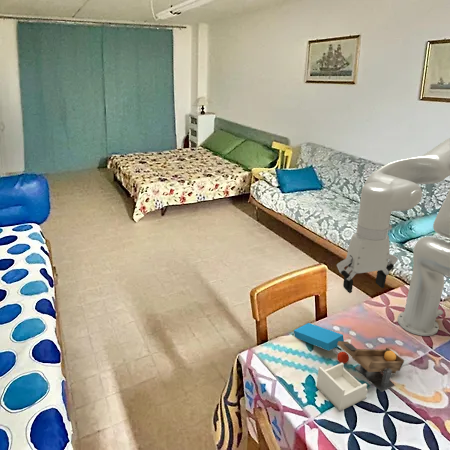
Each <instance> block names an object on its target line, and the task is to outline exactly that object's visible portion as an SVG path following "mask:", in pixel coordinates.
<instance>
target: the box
mask: <svg viewBox="0 0 450 450" xmlns="http://www.w3.org/2000/svg"><path fill="white" fill-rule="evenodd" d="M344 365H345V364H343V363H340V362H339V363H338V364H336V365H333V366H331V367H328V368H326V369H324V368H323V367H322V366H319V367H318V371H317V380H316V388H317V389H318V391H320V393H322V394H323V396H325V398H326V399H327V400H328V401H329V402H330V403H331V404H333V406H334V407H335V408H336V409H337V410H338V411H339V412H341V411H344V410H345V409H347V408H350V407H351V406H354V405H355V404H357V403H360V402H362V401H363V400H365V399H367V396H368V389H369V388H367V387H368V384H367V383H361V382H360V381H359V380H357V379H356V377H354V376H353V375H352V374H351V373H350V372H349V371H347V369H346V368H345V367H344Z"/></svg>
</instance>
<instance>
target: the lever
mask: <svg viewBox="0 0 450 450" xmlns="http://www.w3.org/2000/svg"><path fill="white" fill-rule="evenodd" d="M293 333H294V334H293V335H294V338H297V339H298V340H300V341H303V342H306V343H308V344H310V345H313V346H315V347H317V348H321V349H323V350H326V351H328V352H330V351H332V352H333V353H334V354H335V355H336V359H337V361H338V362H339V364H340V363H343V364H344V365H345V364H347V363H348V362H349V360H350V357H349V356H350V355H349V354H348V353H347V352H346V351H340V350H338V349H337V348H336V347H338V346H339V345H337V343H338V341H345V339H344V335H343V334H342V333H339V332H336V331H334V330H333V331H332V330H330V329H327V328H325V327H321V326H319V325H316V324H313V323H311V322H308V323H305V324H303V325H302V326H299V327H298V328H295V329H294V330H293Z"/></svg>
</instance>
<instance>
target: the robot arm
mask: <svg viewBox="0 0 450 450" xmlns="http://www.w3.org/2000/svg"><path fill="white" fill-rule="evenodd" d="M448 177H450V137H448V138H447V139H445V140H444V141H443V142H440V144H438V145H436V146H434V147H433V148H432V149H431V150H429V151H427V152H425V153H424V154H422V155H418V156H412V157H408V158H403V159H398V160H394V161H391V162H389V163H386V164H384V165H383V166H381V167H379V168H378V169H376V170H375V171H374V172H372V173H371V174H370V175H369V176H368V177H367V179H366V180H365V182H364V185H363V186H362V189H361V193H360V201H359V208H358V216H357V225H356V226H357V227H356V233H353V234H352V236H351V239H350V240H349V241H350V242H349V245H348V248H347V253H346V257H345V258H344V259H343V260H340V262H338V263H337V264H336V267H337V270H338V272H339V273H340V274H341V275H342V276H343V284H342V285H343V288H344V289H345V291H346V292H347V293H349V294H351V293H352V292H353V288H354V286H353V285H354V280H353V278H354V277H355V276H356V275H357V274H364V273H372V272H376V276H375V277H376V278H375V284H376V285H377V286H379V287H380V289H384V288H385V284H386V281H387V276H388V275H389V274H390V272H391V270H393V269H394V267H395V265H396V263H397V262H398V260H399V259H398V258H399V257H397V256H395V255H393V254H391V253H390V236H389V235H388V234H389V231H390V230H392V228H393V225H392V224H390V222H391V214H392V212H403V211H404V212H405V211H409V210H412V209H413V208H415V207H416V206H417V205H418V204H419V203H420V202H421V200H422V197H423V190H422V187H421V186H420V185H432V184H439V183H441V182H442V181H444V180H446V178H448ZM432 227H433V228H432V229H433V230H434V232H435V233H437V234H438V235H440V236H442V237H445V238H447V239H450V188H449V191H448V192H447V194H446V197H445V199H444V201H443V203H442V205H441V207H440V209H439V211H438V212H437V214H436V216H435V219H434V222H433V225H432ZM415 243H416V244H415V246H414V249H413V252H412V253H413V254H412V255H413V266H412V267H413V268H412V274H411V279H410V283H409V288H408V292H407V298H406V302H405V307H404V311H402V312H400V313H399V314H398V317H397V323H398V325H399V326H400V327H401V328H403V330H405V331H407V332H409V333H410V334H413V335H417V336H422V337H429V336H433V335H436V334H437V333H438V331H439V328H440V325H439V323H438V322H437V321H436V320H437V318H438V317H439V316H442V315H443V314H444V311H443V310H442V309H440V307H439V306H440V303H441V298H442V294H443V291H444V287H445V277H444V276H446V277H448V278H450V242H447V241H444V240H442V239H440V238H436V237H433V236H432V237H431V236H424V237H422V238H420V239H419V240H418V241H416V242H415Z"/></svg>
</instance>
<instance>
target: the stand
mask: <svg viewBox="0 0 450 450" xmlns="http://www.w3.org/2000/svg"><path fill="white" fill-rule="evenodd" d="M354 369H355V371H357V372H358V373H359V374H360V375H361V376H363V378H365V379H366V381H368V382H369V383H370V384H371V385H373V386H374V387H375V388H376V389H377V390H379V392H381V393H383V392H384V391H387V390H389V389H390V388H393V387H394V386H396V384H395V383H394V382H392V381H391V376H392V374H393V373H392V370H391V369H390V368H388V369H386V370H384V371H382V372H383V373H382V372H368V371H367V370H366V369H364V368H363V367H362V366H361V365H360V364H359V365H357V366H355V367H354ZM391 373H392V374H391Z"/></svg>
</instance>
